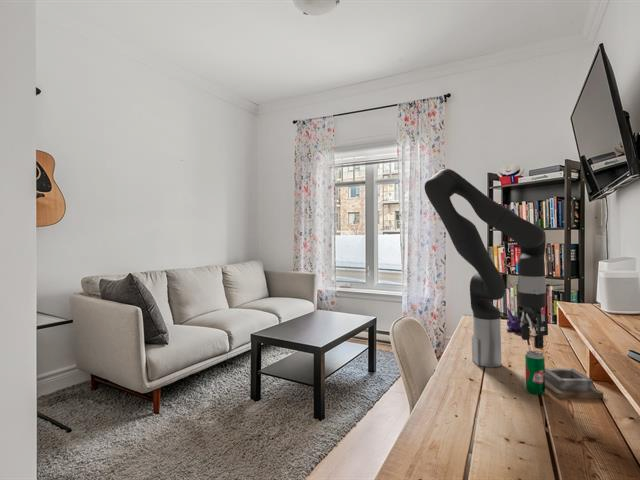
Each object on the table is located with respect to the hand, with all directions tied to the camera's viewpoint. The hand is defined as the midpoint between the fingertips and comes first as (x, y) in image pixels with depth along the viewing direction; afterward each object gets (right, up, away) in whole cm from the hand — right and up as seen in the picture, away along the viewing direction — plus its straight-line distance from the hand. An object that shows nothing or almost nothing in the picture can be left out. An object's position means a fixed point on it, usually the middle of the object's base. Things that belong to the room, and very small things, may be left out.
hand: (532, 343), depth 113 cm
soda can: (+1, -15, 0) cm, 15 cm away
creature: (+31, -13, +67) cm, 75 cm away
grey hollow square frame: (+12, -14, +2) cm, 19 cm away
